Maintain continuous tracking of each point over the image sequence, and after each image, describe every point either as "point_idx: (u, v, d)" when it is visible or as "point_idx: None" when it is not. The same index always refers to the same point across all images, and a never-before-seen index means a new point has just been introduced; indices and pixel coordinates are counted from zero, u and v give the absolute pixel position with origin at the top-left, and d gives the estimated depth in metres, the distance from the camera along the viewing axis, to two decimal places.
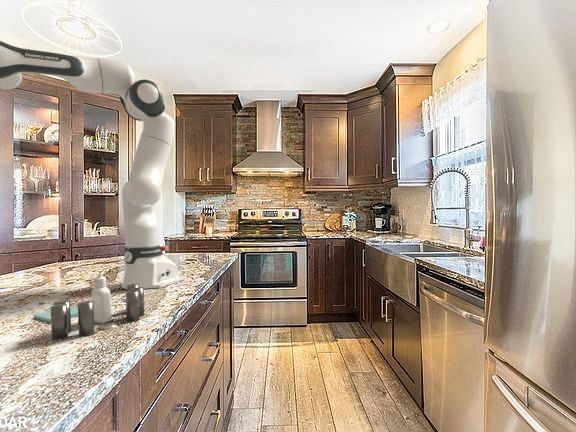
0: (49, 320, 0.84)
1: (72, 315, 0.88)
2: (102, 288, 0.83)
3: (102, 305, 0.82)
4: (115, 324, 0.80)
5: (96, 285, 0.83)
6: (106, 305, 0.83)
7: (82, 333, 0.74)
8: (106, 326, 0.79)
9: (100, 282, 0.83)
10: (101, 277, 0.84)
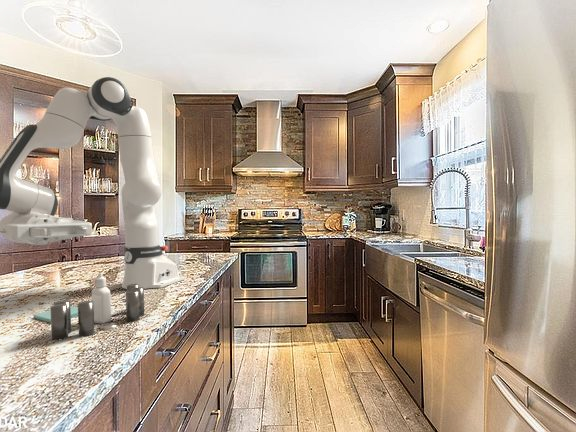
0: (49, 320, 0.84)
1: (72, 315, 0.88)
2: (102, 288, 0.83)
3: (102, 305, 0.82)
4: (115, 324, 0.80)
5: (96, 285, 0.83)
6: (106, 305, 0.83)
7: (82, 333, 0.74)
8: (106, 326, 0.79)
9: (100, 282, 0.83)
10: (101, 277, 0.84)
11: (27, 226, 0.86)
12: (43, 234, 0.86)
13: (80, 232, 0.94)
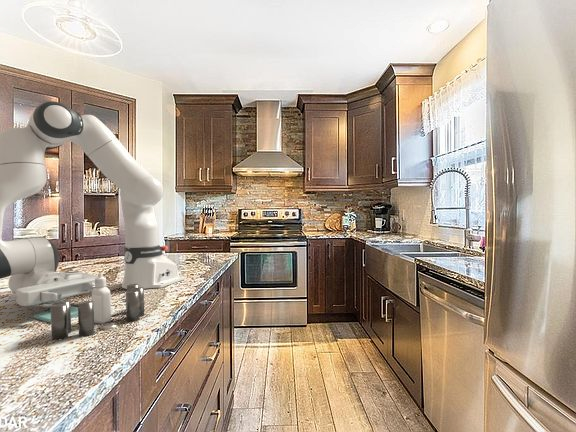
0: (49, 320, 0.84)
1: (72, 315, 0.88)
2: (102, 288, 0.83)
3: (102, 305, 0.82)
4: (115, 324, 0.80)
5: (96, 285, 0.83)
6: (106, 305, 0.83)
7: (82, 333, 0.74)
8: (106, 326, 0.79)
9: (100, 282, 0.83)
10: (101, 277, 0.84)
11: (38, 291, 0.85)
12: (54, 299, 0.85)
13: (91, 290, 0.93)
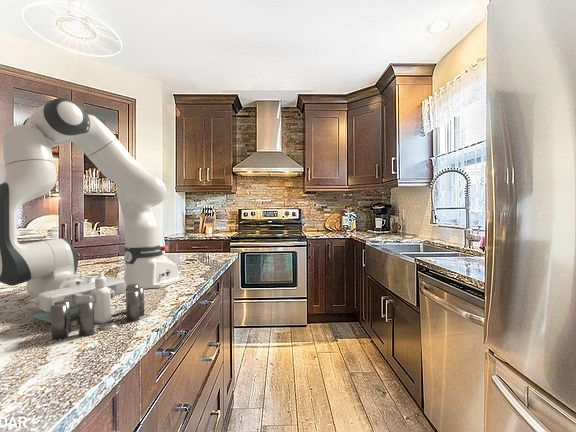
0: (49, 320, 0.84)
1: (72, 315, 0.88)
2: (102, 288, 0.83)
3: (102, 305, 0.82)
4: (115, 324, 0.80)
5: (96, 285, 0.83)
6: (106, 305, 0.83)
7: (82, 333, 0.74)
8: (106, 326, 0.79)
9: (100, 282, 0.83)
10: (101, 277, 0.84)
11: (61, 296, 0.80)
12: None
13: None
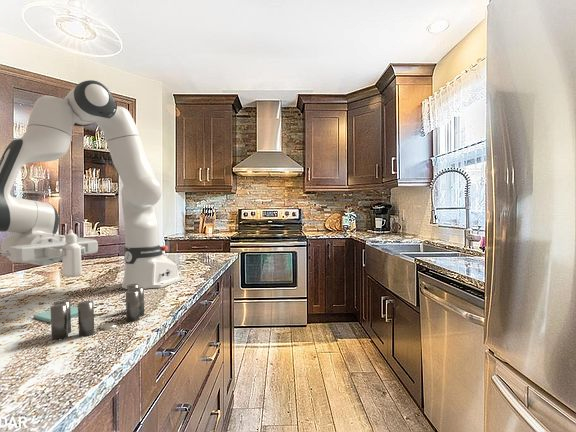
0: (49, 320, 0.84)
1: (72, 315, 0.88)
2: (72, 244, 0.87)
3: (72, 259, 0.85)
4: (115, 324, 0.80)
5: (66, 241, 0.86)
6: (76, 260, 0.86)
7: (82, 333, 0.74)
8: (106, 326, 0.79)
9: (71, 237, 0.87)
10: (71, 233, 0.87)
11: (32, 248, 0.83)
12: (59, 255, 0.85)
13: None
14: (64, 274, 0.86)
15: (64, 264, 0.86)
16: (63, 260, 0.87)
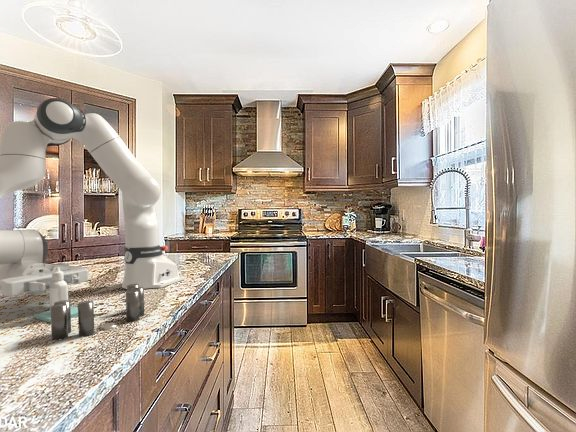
0: (49, 320, 0.84)
1: (72, 315, 0.88)
2: (59, 281, 0.88)
3: (59, 298, 0.87)
4: (115, 324, 0.80)
5: (53, 279, 0.88)
6: (63, 298, 0.87)
7: (82, 333, 0.74)
8: (106, 326, 0.79)
9: (57, 275, 0.88)
10: (58, 271, 0.88)
11: (21, 282, 0.85)
12: (42, 289, 0.85)
13: (72, 282, 0.92)
14: None
15: (51, 302, 0.88)
16: (50, 298, 0.88)
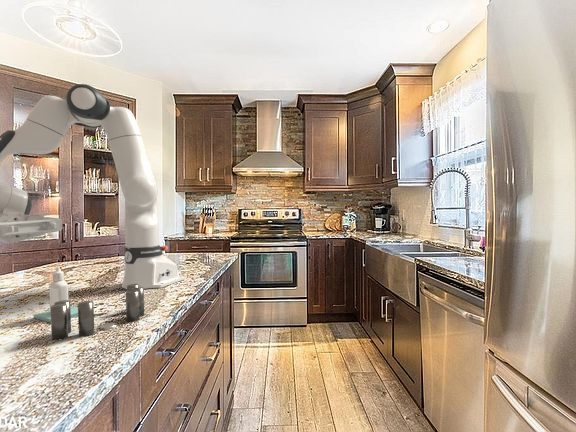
0: (49, 320, 0.84)
1: (72, 315, 0.88)
2: (59, 281, 0.88)
3: (59, 298, 0.87)
4: (115, 324, 0.80)
5: (54, 279, 0.88)
6: (63, 298, 0.87)
7: (82, 333, 0.74)
8: (106, 326, 0.79)
9: (58, 275, 0.88)
10: (59, 271, 0.88)
11: None
12: (11, 231, 0.91)
13: (49, 227, 0.99)
14: None
15: (51, 302, 0.88)
16: (50, 298, 0.88)
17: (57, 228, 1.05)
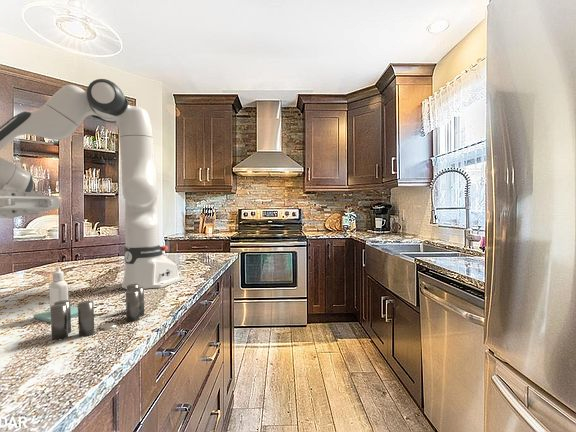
0: (49, 320, 0.84)
1: (72, 315, 0.88)
2: (59, 281, 0.88)
3: (59, 298, 0.87)
4: (115, 324, 0.80)
5: (53, 279, 0.88)
6: (63, 298, 0.87)
7: (82, 333, 0.74)
8: (106, 326, 0.79)
9: (58, 275, 0.88)
10: (59, 271, 0.88)
11: None
12: (7, 204, 0.91)
13: (46, 204, 0.99)
14: None
15: (51, 302, 0.88)
16: (50, 298, 0.88)
17: (54, 206, 1.04)
